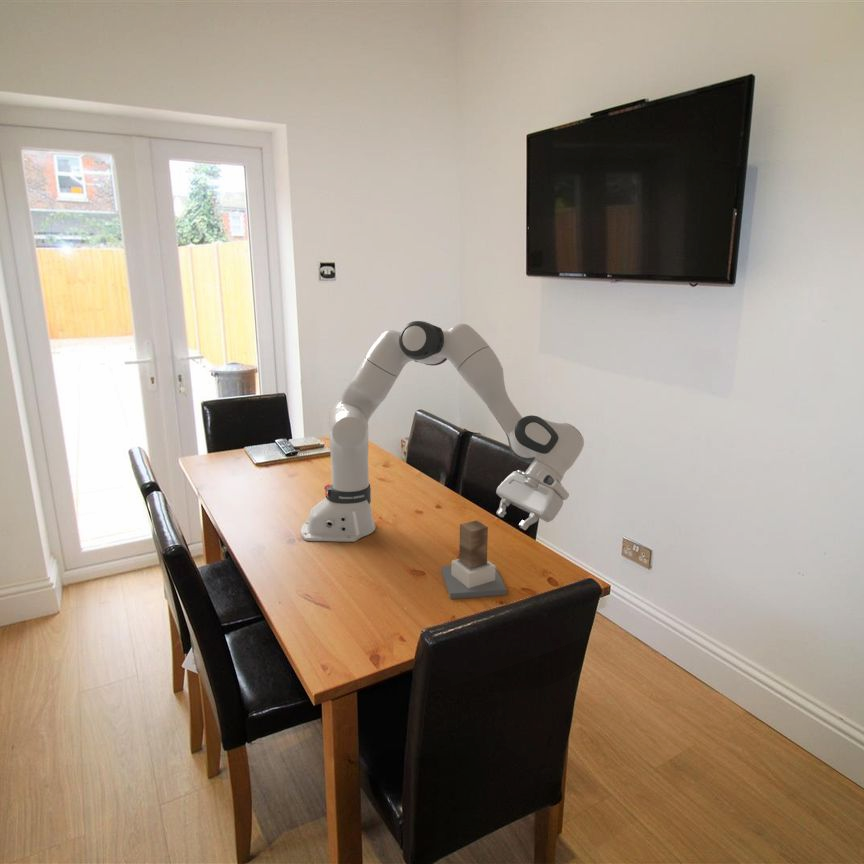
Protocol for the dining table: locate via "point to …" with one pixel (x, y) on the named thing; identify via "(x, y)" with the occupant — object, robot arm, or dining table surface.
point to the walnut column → (473, 544)
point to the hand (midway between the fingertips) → (510, 521)
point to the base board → (473, 591)
